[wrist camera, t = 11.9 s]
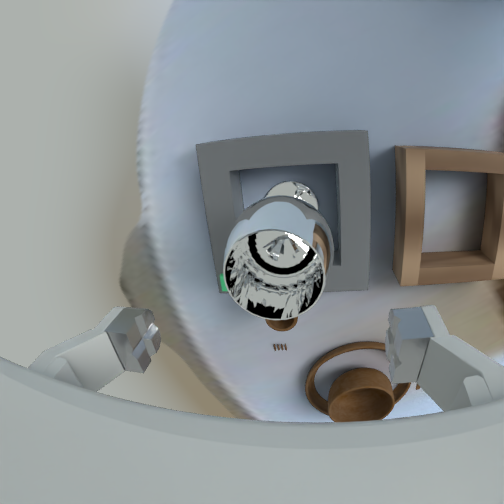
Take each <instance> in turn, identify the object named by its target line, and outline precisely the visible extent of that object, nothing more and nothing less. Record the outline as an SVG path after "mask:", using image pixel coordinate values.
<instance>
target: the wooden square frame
mask: <svg viewBox="0 0 504 504" xmlns="http://www.w3.org/2000/svg"><path fill="white" fill-rule="evenodd" d="M395 166H396V215H395V240H394V256H393V269H392V270H393V272H394V274H395V276H396V278H397V280H398V282H399V284H400V286H415V285H431V284H445V283H459V282H472V281H483V280H495V279H504V153H501V152H494V151H484V150H474V149H462V148H447V147H429V146H396V145H395ZM425 170H445V171H467V172H483V173H488V174H487V194H486V207H485V218H484V227H483V235H482V242H481V249H480V250H475V251H452V252H427V253H421V252H422V241H423V228H424V211H425Z"/></svg>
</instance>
